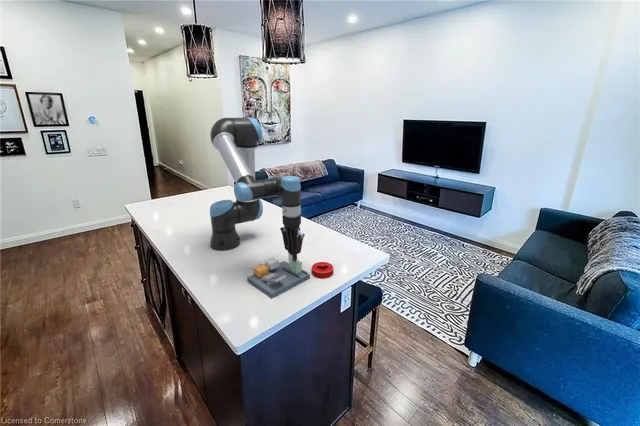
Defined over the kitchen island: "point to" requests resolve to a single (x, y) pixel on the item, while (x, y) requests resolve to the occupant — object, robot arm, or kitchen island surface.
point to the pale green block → (296, 267)
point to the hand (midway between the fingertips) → (293, 266)
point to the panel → (281, 285)
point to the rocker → (273, 277)
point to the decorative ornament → (322, 270)
